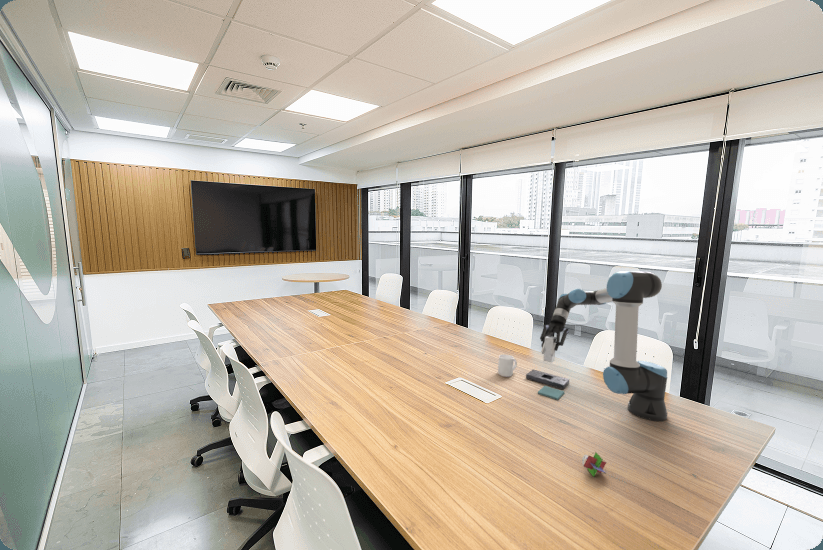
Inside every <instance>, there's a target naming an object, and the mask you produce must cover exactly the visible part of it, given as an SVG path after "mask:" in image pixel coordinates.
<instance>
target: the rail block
mask: <svg viewBox="0 0 823 550" xmlns="http://www.w3.org/2000/svg"><path fill="white" fill-rule="evenodd" d="M525 379H526V380H530V381H532V382H533V381H534V382H536V383H538V384H539V383H540V384H543V385H545V386H548V387H552V388H555V389H559V390H564V389H565V388H567V386H568V385H570V379H569V378H566V377H562V376H558V375H555V374H551V373H548V372H545V371H541V370H537V369H535V368H534V369H533V368H532V369H531V370H530V371H528V373H526V374H525Z"/></svg>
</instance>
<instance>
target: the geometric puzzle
mask: <svg viewBox="0 0 823 550" xmlns="http://www.w3.org/2000/svg"><path fill="white" fill-rule="evenodd" d="M593 454H594V455H589V454H584V455H583V457H582V459H581V461H582V462H581V463H582V467H583V468H584V469H586V470H587V471H588V473H589V474H590V475H591V476H593V478H595V477H596V474H597V473H598V474H597V476H600V474H602V473H603V474H606V470H605V467H606V465H607V461H605V460H604V459H603V457H601V456H600V455H599V453H597V452H596V451H595V452H593Z"/></svg>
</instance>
